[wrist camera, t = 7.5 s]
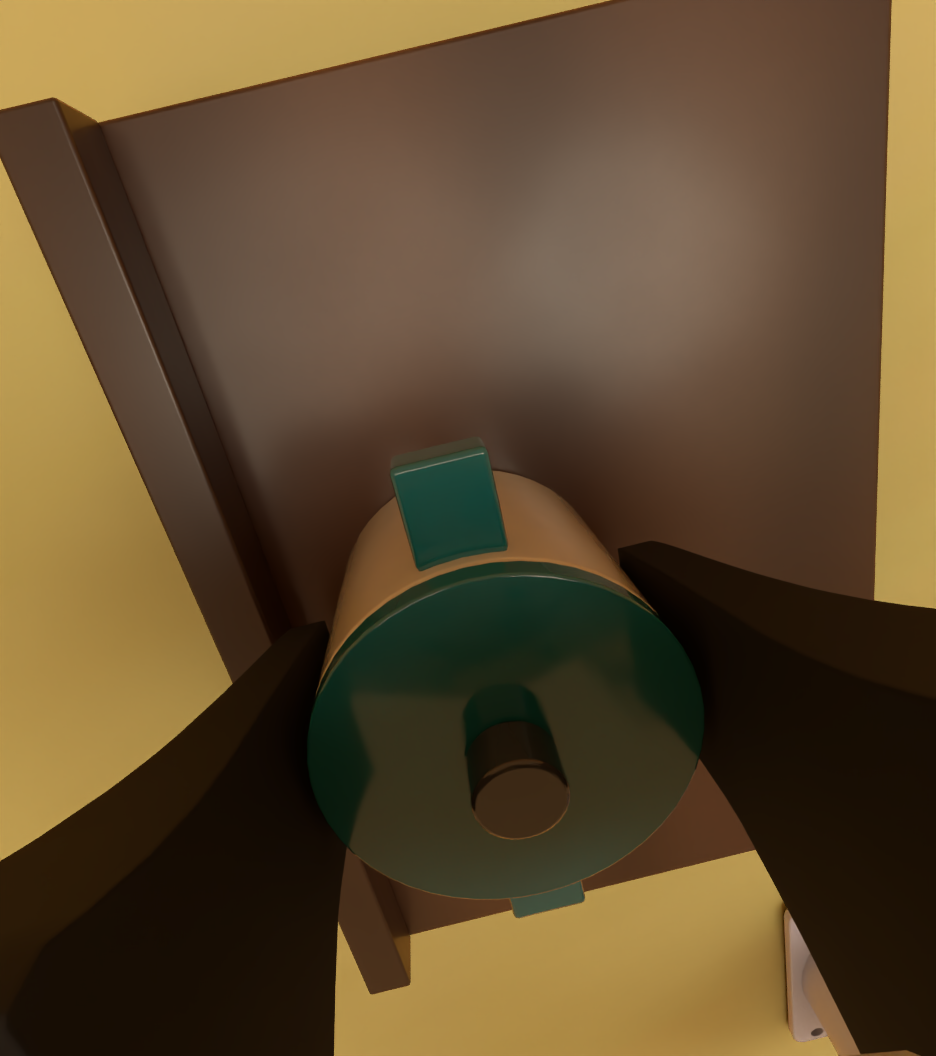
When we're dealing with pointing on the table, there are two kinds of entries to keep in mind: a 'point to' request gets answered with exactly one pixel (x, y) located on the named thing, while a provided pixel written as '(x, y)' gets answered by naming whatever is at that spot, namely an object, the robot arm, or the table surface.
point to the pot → (495, 692)
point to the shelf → (495, 314)
